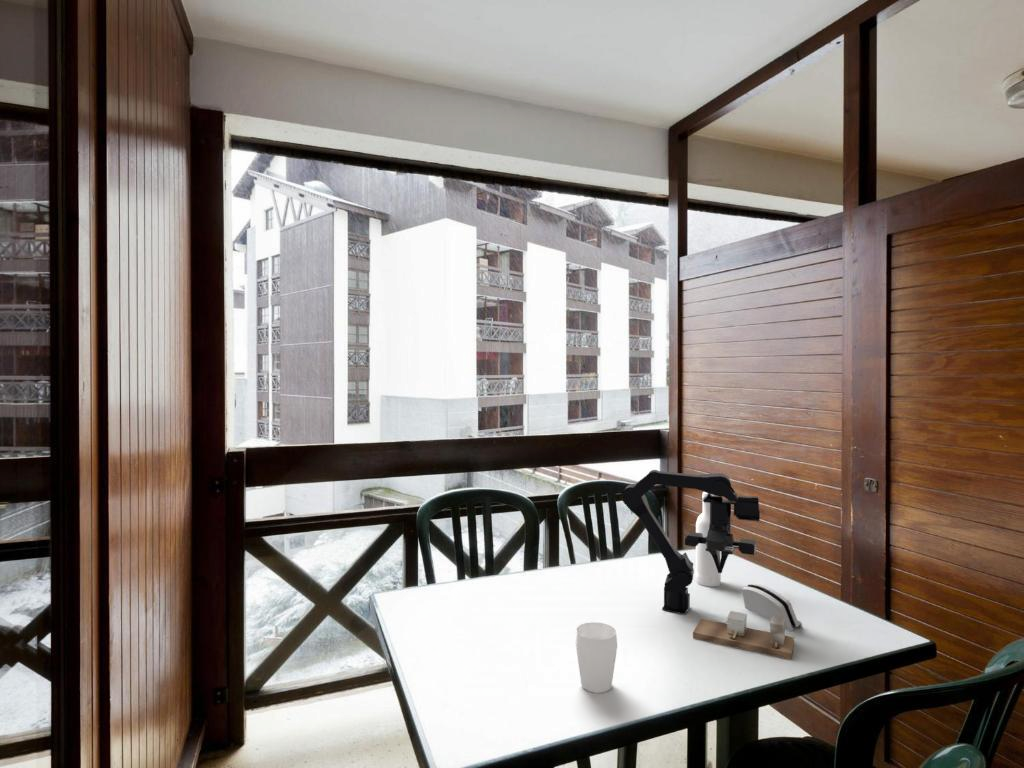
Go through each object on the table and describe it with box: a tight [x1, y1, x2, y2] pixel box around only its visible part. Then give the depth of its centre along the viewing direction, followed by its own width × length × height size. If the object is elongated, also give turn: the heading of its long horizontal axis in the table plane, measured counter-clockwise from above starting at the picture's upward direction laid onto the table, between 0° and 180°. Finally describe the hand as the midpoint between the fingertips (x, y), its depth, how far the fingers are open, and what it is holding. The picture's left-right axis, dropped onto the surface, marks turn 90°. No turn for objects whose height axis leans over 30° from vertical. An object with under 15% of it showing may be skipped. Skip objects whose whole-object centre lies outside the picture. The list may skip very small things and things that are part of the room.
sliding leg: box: [726, 610, 748, 638], centre depth 147 cm, size 4×8×4 cm, turn 150°
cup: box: [575, 621, 618, 694], centre depth 125 cm, size 9×9×12 cm
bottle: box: [694, 491, 722, 588], centre depth 188 cm, size 8×8×30 cm
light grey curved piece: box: [741, 582, 804, 632], centre depth 160 cm, size 17×5×10 cm, turn 20°
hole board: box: [692, 616, 795, 660], centre depth 146 cm, size 23×10×6 cm, turn 60°
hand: (720, 572), depth 162 cm, fingers closed
